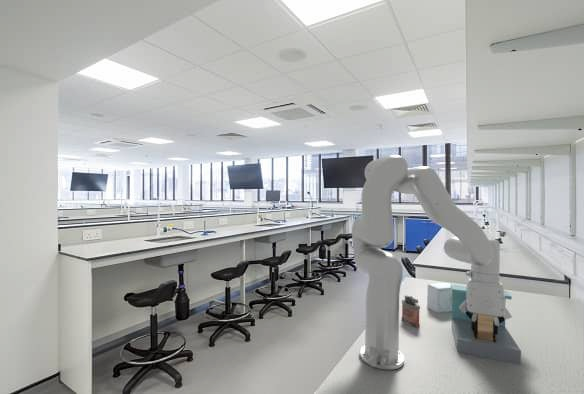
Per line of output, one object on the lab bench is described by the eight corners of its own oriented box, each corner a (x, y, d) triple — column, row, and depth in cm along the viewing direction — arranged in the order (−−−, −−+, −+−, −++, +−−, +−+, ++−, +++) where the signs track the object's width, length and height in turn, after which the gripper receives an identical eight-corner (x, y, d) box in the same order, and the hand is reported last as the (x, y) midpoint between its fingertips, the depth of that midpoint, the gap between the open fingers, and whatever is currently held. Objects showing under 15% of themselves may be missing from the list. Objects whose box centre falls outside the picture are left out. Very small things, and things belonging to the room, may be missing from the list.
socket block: (522, 364, 83) (523, 309, 83) (455, 351, 90) (455, 299, 90) (506, 337, 99) (506, 291, 99) (450, 327, 106) (450, 284, 106)
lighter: (399, 319, 113) (399, 293, 113) (406, 318, 114) (406, 293, 114) (414, 328, 106) (415, 300, 106) (422, 326, 107) (422, 299, 107)
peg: (492, 348, 89) (493, 316, 89) (477, 345, 90) (478, 313, 90) (490, 342, 92) (490, 311, 92) (475, 340, 94) (475, 309, 94)
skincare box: (438, 313, 120) (438, 288, 120) (426, 307, 126) (426, 283, 126) (457, 310, 123) (458, 286, 123) (445, 305, 129) (446, 282, 129)
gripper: (455, 276, 91) (455, 334, 91) (521, 283, 84) (520, 346, 84) (453, 271, 98) (452, 324, 98) (513, 277, 91) (513, 335, 91)
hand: (484, 334), depth 91 cm, fingers closed on peg, 4 cm apart
